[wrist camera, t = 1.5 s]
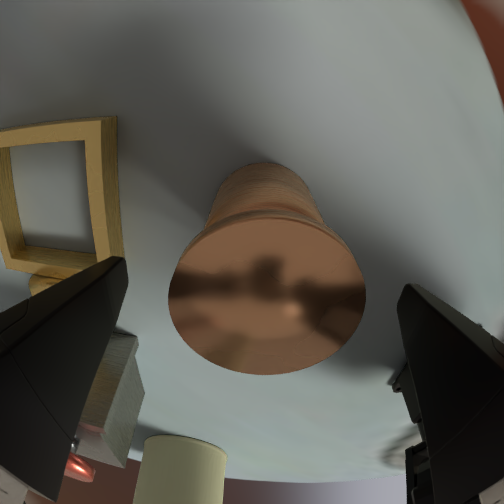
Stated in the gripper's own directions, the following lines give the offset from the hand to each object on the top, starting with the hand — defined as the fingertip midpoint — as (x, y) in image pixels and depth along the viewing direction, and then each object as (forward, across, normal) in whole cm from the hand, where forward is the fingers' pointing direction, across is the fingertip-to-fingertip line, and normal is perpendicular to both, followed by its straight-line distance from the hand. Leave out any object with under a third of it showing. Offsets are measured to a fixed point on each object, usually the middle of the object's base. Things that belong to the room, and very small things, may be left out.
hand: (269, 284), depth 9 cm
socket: (+6, +11, 0) cm, 12 cm away
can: (+6, +5, +28) cm, 29 cm away
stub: (+6, 0, 0) cm, 6 cm away
